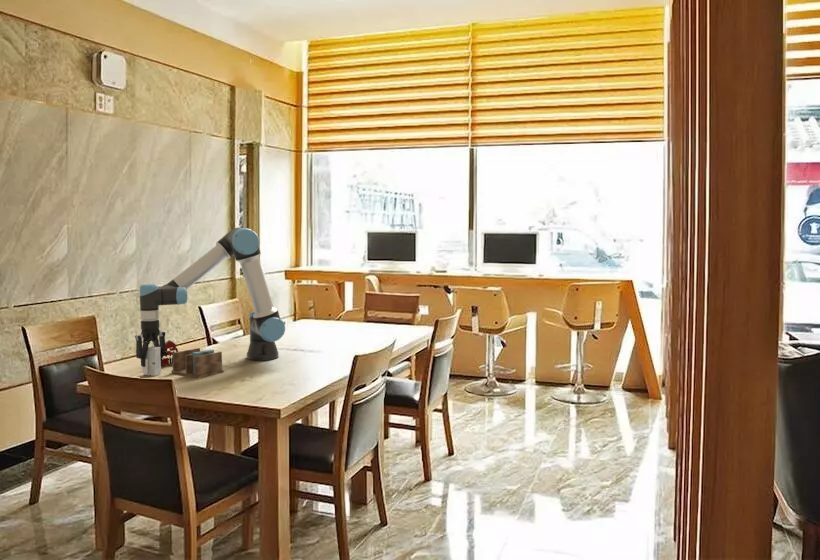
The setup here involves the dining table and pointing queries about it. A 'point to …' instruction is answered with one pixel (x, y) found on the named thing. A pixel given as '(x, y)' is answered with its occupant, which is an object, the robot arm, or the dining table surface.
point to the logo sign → (169, 352)
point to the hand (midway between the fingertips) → (151, 372)
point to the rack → (197, 363)
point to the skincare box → (153, 361)
